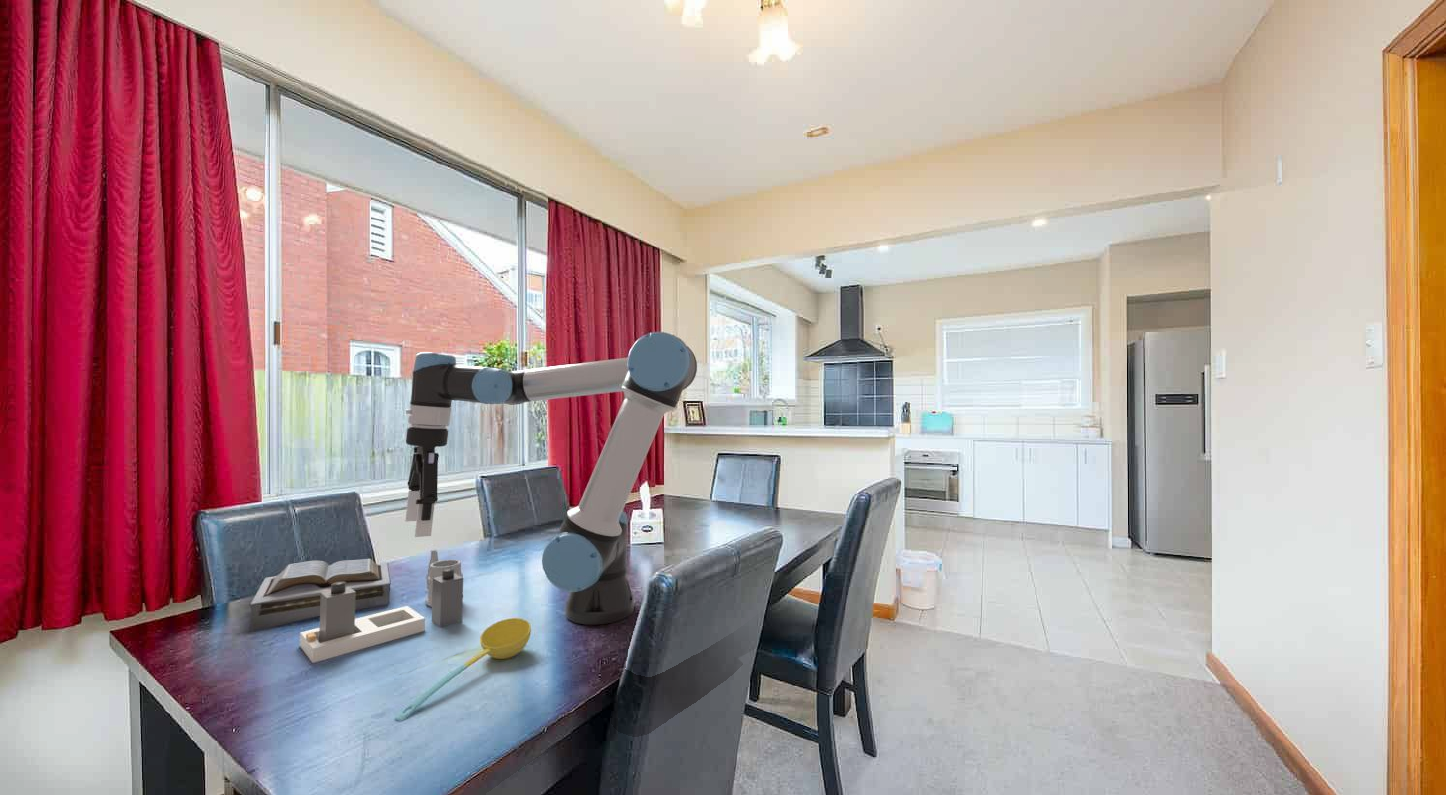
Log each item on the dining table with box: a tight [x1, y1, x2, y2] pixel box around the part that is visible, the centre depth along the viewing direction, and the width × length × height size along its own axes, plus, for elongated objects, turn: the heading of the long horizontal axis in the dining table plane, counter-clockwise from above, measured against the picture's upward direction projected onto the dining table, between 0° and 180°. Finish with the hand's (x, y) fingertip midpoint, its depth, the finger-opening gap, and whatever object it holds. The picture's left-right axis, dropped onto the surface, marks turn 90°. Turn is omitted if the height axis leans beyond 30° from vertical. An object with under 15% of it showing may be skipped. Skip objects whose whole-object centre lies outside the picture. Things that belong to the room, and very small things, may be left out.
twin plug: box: [318, 582, 356, 643], centre depth 96 cm, size 4×4×12 cm
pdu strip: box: [299, 605, 426, 664], centre depth 100 cm, size 10×18×4 cm, turn 140°
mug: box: [425, 549, 464, 608], centre depth 120 cm, size 8×12×12 cm, turn 54°
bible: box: [249, 558, 392, 633], centre depth 118 cm, size 23×27×10 cm
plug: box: [431, 569, 464, 628], centre depth 108 cm, size 4×4×12 cm
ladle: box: [394, 617, 532, 722], centre depth 88 cm, size 9×26×6 cm, turn 161°
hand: (417, 528), depth 106 cm, fingers open, 13 cm apart
